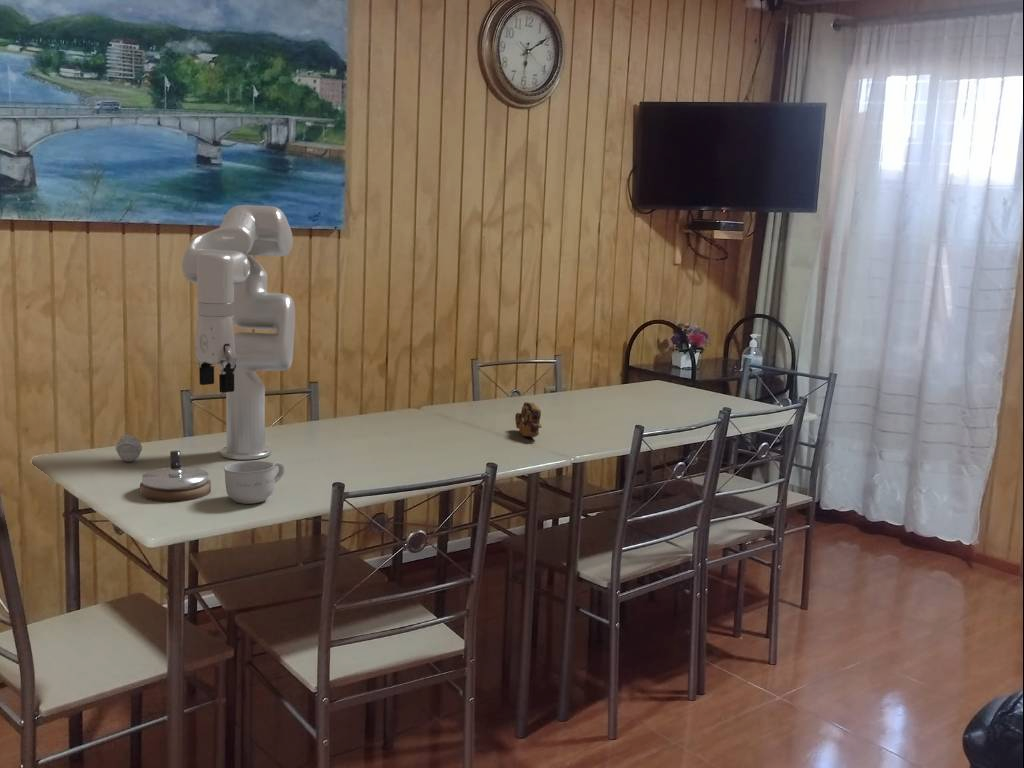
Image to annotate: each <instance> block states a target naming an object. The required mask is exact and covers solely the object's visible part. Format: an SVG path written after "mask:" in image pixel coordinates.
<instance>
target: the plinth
mask: <svg viewBox="0 0 1024 768" xmlns="http://www.w3.org/2000/svg"><path fill="white" fill-rule="evenodd" d="M211 483H212V481H211V479H210V478H208V483H207V484H205V485H203V486H201V487H198V488H194V489H188V490H180V491H160V490H153V489H149V488H146V487H144V486H143V485H142V481H141V482H140V484H139V495H140V497H142V498H143V499H145V500H149V501H154V502H162V503H167V502H168V503H174V502H186V501H187V502H188V501H192V500H197V499H200V498H203V497H206V496H208V495H209V494H210V493H211V491H212V489H211V488H212V487H211V486H212V485H211Z"/></svg>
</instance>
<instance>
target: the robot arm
mask: <svg viewBox="0 0 1024 768" xmlns="http://www.w3.org/2000/svg"><path fill="white" fill-rule="evenodd" d="M293 241H294V238H293V232H292V229H291V226H290V224H289V222H288V218H287V216H286V214H285V213H284V212H283V210H281V209H280V208H278V207H277V206H272V205H253V204H252V205H251V204H250V205H249V204H241V205H235V206H233V207H231V208H229V210H227V212H226V214H225V216H224V218H223V220H222V222H221V224H220V226H219V228H218V227H217V228H215V229H212V230H211V231H207V232H206V233H203V234H200V235H198V236H196V237H194V238H193V239H191V240H190V242H189V244H188V246H187V248H186V249H185V252H184V254H183V257H182V261H181V270H182V274H183V276H184V277H185V279H186V280H187V281H188V282H190V283H193V284H194V283H195V284H197V285H196V288H197V290H196V291H197V323H196V330H195V332H196V333H195V356H196V357H195V358H196V359H197V360H198V367H199V369H198V370H199V373H198V375H199V385H200V386H207V385H208V386H209V385H213V384H215V366H214V365H218V368H219V370H220V371H219V372H220V373H219V375H218V377H219V378H218V379H219V381H218V382H219V387H218V389H219V392H220V393H221V394H223V393H225V395H226V397H225V398H226V399H225V400H226V407H225V409H226V414H225V415H226V446H225V447H222V448H221V449H220V456H221V457H223V458H227V459H229V460H230V459H231V460H241V461H243V460H244V461H245V460H246V461H250V460H257V459H262V458H266V457H269V456H270V455H271V453H272V449H271V448H270V447H269V446H267V445H266V443H265V442H266V428H265V426H266V423H265V422H266V420H265V419H266V417H265V416H266V411H265V410H266V409H265V408H266V403H265V402H266V399H265V397H266V389H265V388H266V387H265V385H264V383H263V380H262V378H261V377H260V376H259V375H258V374H257V373H256V371H257V372H259V371H263V372H264V371H267V372H269V371H270V372H272V371H274V372H283V371H287V370H289V369H290V368H291V366H292V363H293V358H294V348H295V346H294V345H295V331H296V329H295V328H296V307H295V302H294V299H293V298H292V297H291V295H289V294H287V293H282V292H281V293H280V292H268V280H269V277H268V273H267V271H266V270H265V269H264V267H263V266H262V265H261V264H260V262H258V261H257V259H256V258H255V257H254V256H259V257H285V256H288V255H289V254H290V253H291V251H292V249H293V244H294V242H293ZM234 326H235V327H237V328H240V329H245V330H246V329H248V330H265V331H267V330H268V331H274V332H276V333H268V332H267V333H266V332H240V331H239V332H234V331H235V330H234Z"/></svg>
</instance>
